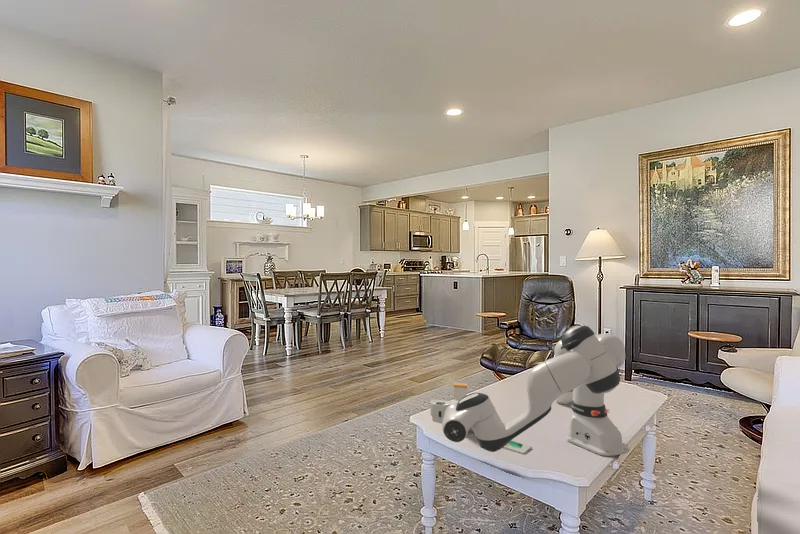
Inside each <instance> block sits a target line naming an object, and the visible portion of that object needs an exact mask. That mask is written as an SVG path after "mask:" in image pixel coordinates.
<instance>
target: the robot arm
mask: <svg viewBox="0 0 800 534" xmlns="http://www.w3.org/2000/svg"><path fill="white" fill-rule="evenodd" d="M625 348H626V347H625V344H624V342H623V341H622V339H620V338H619V337H618V336H616V335H613V334H610V333H609V334H608V333H599V334H596V333H595V332H594V331H593V329H592V328H591V327H589V326H587V325H576V326H573V327H571V328H569V329H568V330H567V331H566V332H565V333H564V334H563V335H562V337H561V339H560V340H558V341H557V343H555V346H554V351H553V352H554V353H553V354H554V357H551V358H549V359H546V360H545V361H542V362H540V363H538V364H536V365H535V366H533V367H532V368H530V369H529V371H528V373H527V376H526V391H527V397H528V398H527V399H528V405H527V408H526V409H525V411H523V412H522V413H520V414H518V415H517V416H516V417H515V418H513V419H511V420H510V421H509V422H507V423H504V422H503V421H502V419H501V417H500V415H499V413H498V411H497V410H496V406H494V404H493V402H492V401H491V398H490V397H489V395H488V394H485V393H482V392H472V393H469V394H467V396H465V397H463V398H462V399H460V400H455V401H454V400H444V399H431V400H430V409H429V411H430V416H431V418H432V419H431V420H432V422H434V423H438V424H441V426H442V429H441V430H442V432H443V435H444V436H445V437H446V438H447V440H449V441H451V442H452V443H460V442H462V441H464V440H465V439H466V437H467V436H468V434H469V433H468V431H469V429H470V428H471V427H472V429H473V431H474V433H473V434H474V435H475V437H476V440H477V442H478V444H479V446H480V448H481V449H483V450H485V451H488V452H491V453H494V452H497V451H499V450H501V449H504V448H503V447H504V446H505V445H506V444H507V443H509V442H510V441H513V439H515V438H516V437H518V436H520V435H521V434H522V433H524V432H525V431H527V430H528V429H530V428H532V427H533V426H535V425H536V424H537V423H539V422H540V421H542V419H544V418H546V417H547V415H548V414H549V413H551V410H552V404H553V403H554V402H555V401H556V400H555V399H556V398H558V397H559V396H561V395H563V394H565V393H567V392H569V391H571V390H573V400H572V401H571V404H570V405H571V411H572V412H571V413H572V414H571V418H570V424H569V431H568V433H567V437H566V441H567V442H569V443H571V444H573V445H576V446H578V447H580V448H583V449H585V450H587V451H589V450H590V452H592V453H594V454H596V453H597V454H596V455H599V456H604V457H605V456H606V457H613V456H620V455H625V454H627V453H629V452H630V447H628V446H627V445H626V444H625V443H623V437H622V433H621V431H620V430H619V428H618V427H617V426H616V425H615V424H614V422H612V420H611V419H610V417H608V413H610V409H607V408H606V405H605V403H604V402H605V394H608V393H610V392H612V391H613V390H615V389H616V388H617V387H618V386H619V385H620V382H621V375H620V372H621V367H622V366H623V365H624V363H625V360H626V357H627V356H626V349H625Z"/></svg>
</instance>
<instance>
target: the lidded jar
mask: <svg viewBox="0 0 800 534" xmlns="http://www.w3.org/2000/svg"><path fill="white" fill-rule="evenodd" d="M572 400H573V390H571V391H569V392H567V393H565V394H563V395H561V396H559V397H558V398H556V399H555V400H554V401H555V402H556V403H558V404H560V405H561V404H562V405H569V404H570V403H572Z"/></svg>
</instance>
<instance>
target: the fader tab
mask: <svg viewBox="0 0 800 534" xmlns="http://www.w3.org/2000/svg"><path fill="white" fill-rule="evenodd" d="M453 388H454V389H453V392H454V393H453V401H455V400H460V399H462V398H463V397H465V396H467V395H468V394H467V393H468V391H467V389H468V383H464V382H454V383H453Z"/></svg>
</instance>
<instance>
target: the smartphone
mask: <svg viewBox="0 0 800 534" xmlns="http://www.w3.org/2000/svg"><path fill="white" fill-rule="evenodd" d="M502 449H505V450H507V451H511V452H515V453H518V454H521V455H526V454H527V453H528V452H530V451H531V450H532V449H533V447H532V446H530V445H527V444H524V443H520V442H517V441H514V440H511V441H510V442H509V443H507V444H506V445H505V446H504V447H503V448H502Z"/></svg>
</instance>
